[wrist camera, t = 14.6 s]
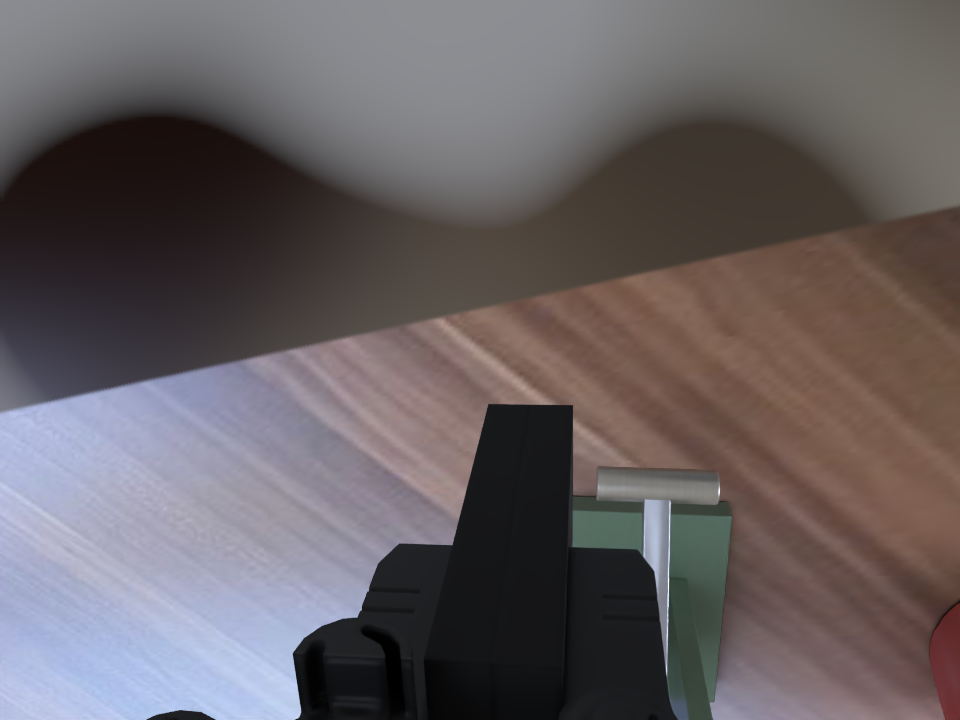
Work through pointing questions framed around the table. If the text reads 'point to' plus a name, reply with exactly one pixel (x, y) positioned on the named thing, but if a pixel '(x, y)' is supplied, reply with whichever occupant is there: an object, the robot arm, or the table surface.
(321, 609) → the table surface
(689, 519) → the bracket
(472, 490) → the robot arm
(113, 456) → the table surface
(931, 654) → the flower pot
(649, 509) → the lever
